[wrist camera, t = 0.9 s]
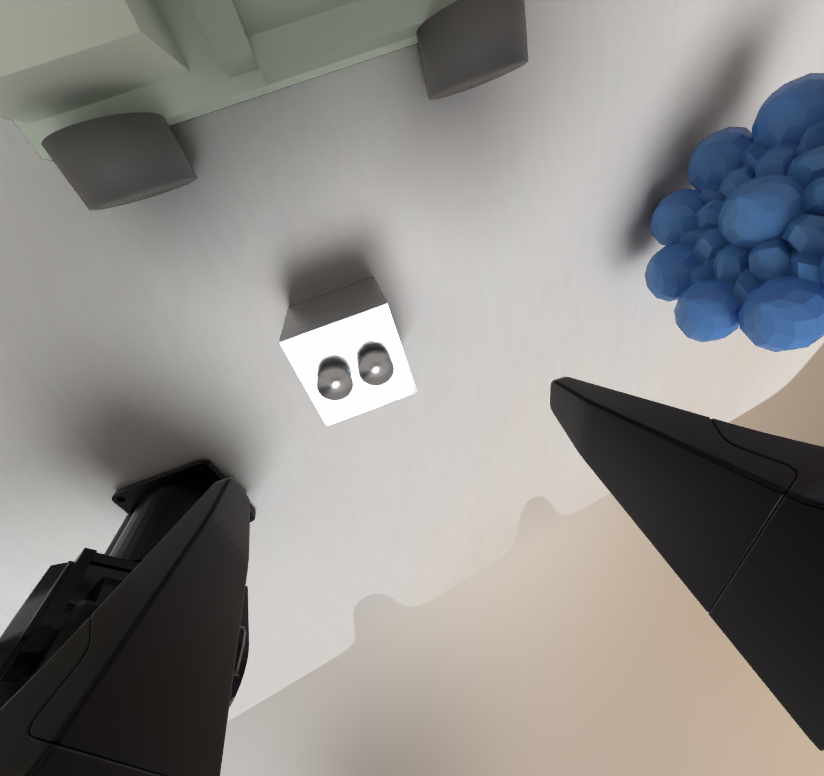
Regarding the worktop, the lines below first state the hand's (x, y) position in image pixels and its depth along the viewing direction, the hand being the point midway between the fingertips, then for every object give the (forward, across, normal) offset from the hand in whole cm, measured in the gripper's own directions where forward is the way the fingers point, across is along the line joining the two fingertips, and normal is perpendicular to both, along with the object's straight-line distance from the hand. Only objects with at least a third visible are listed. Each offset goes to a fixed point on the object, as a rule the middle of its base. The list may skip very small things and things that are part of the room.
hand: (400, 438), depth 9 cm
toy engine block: (+12, +1, +2) cm, 12 cm away
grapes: (+13, -20, 0) cm, 23 cm away
